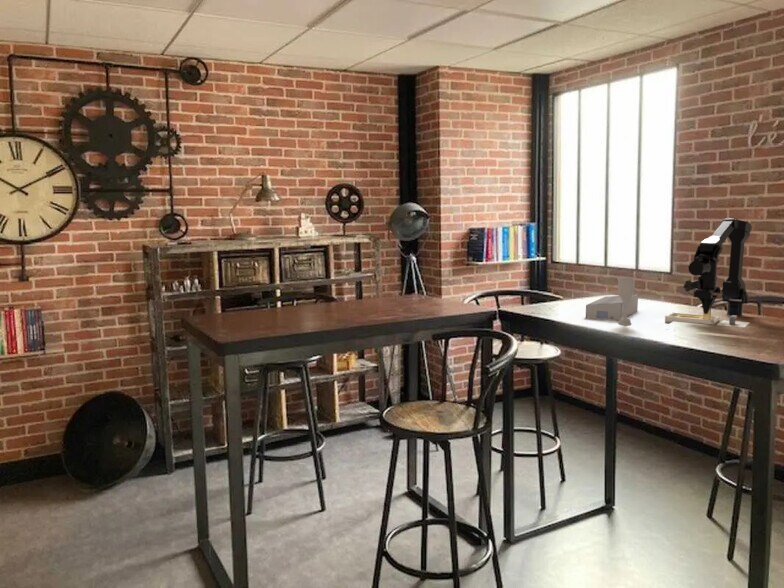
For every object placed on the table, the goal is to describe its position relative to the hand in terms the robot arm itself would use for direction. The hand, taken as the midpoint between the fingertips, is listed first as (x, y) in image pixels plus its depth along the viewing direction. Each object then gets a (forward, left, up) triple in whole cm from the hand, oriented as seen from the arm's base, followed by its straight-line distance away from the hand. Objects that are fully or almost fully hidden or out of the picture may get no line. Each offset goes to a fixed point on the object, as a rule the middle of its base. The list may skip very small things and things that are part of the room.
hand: (706, 313), depth 256 cm
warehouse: (-4, -38, -5) cm, 38 cm away
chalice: (+18, -26, -4) cm, 32 cm away
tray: (0, -5, -4) cm, 6 cm away
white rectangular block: (0, +10, -4) cm, 11 cm away
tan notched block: (0, -5, -3) cm, 5 cm away
